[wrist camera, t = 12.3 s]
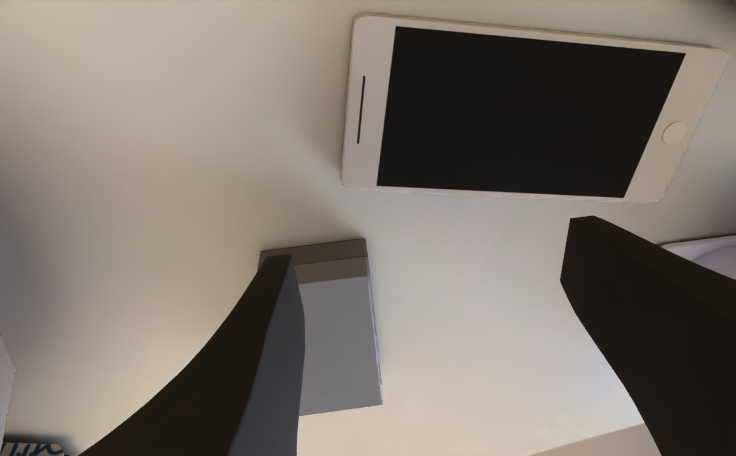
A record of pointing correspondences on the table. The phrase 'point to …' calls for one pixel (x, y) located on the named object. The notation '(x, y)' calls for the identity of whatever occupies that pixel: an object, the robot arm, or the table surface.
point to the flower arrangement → (5, 385)
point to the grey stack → (336, 326)
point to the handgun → (31, 449)
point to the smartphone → (519, 110)
